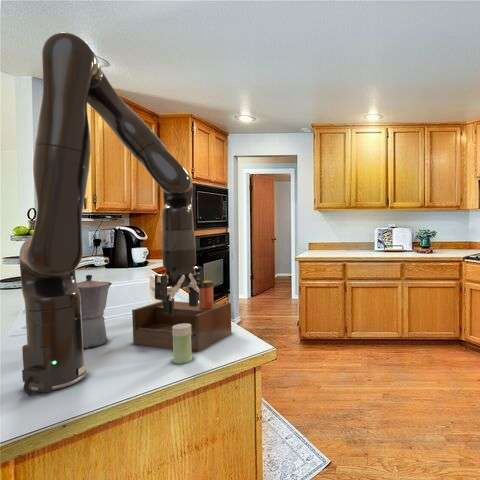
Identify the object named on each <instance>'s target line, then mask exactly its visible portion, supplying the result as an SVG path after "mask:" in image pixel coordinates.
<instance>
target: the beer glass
mask: <svg viewBox="0 0 480 480" xmlns="http://www.w3.org/2000/svg"><path fill="white" fill-rule="evenodd" d="M155 275H156V274H153V275H150V276H149V282H148V288H149V289H148V291H149V296H150V300H151V304H154V303H157V302H161V301H162V300H156V299H155ZM170 288H172V287H171V286H170ZM169 294H170V292H169V293H168V296H169ZM160 295H162V291H161V290H160Z"/></svg>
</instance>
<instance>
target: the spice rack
mask: <svg viewBox="0 0 480 480" xmlns="http://www.w3.org/2000/svg"><path fill="white" fill-rule="evenodd" d="M173 301H174V315H172V316H165V314H164V312H163V301H161V302H157V303H154V304H152V303H151V304H147V305H145V306H141V307H137V308H134V309H132V310H131V316H132V340H133V341H132V342H133V345H139V346H148V347H157V348H166V349H173V335H172V327H173V326H174V325H177V324H183V323H188V324H191V331H192V332H191V346H192V352H200V351H202V350H204V349H206V348H208V347H210V346H212V345H213V344H216V343H217V342H219V341H221V340H222V339H224V338H226V337H228V336H231V335H232V302H225V303H222V304H214V303H213V307H212V308H209V309H200V308H199V302H198V306H196V307H192V306H189V301H175V297H174V298H173Z"/></svg>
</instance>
